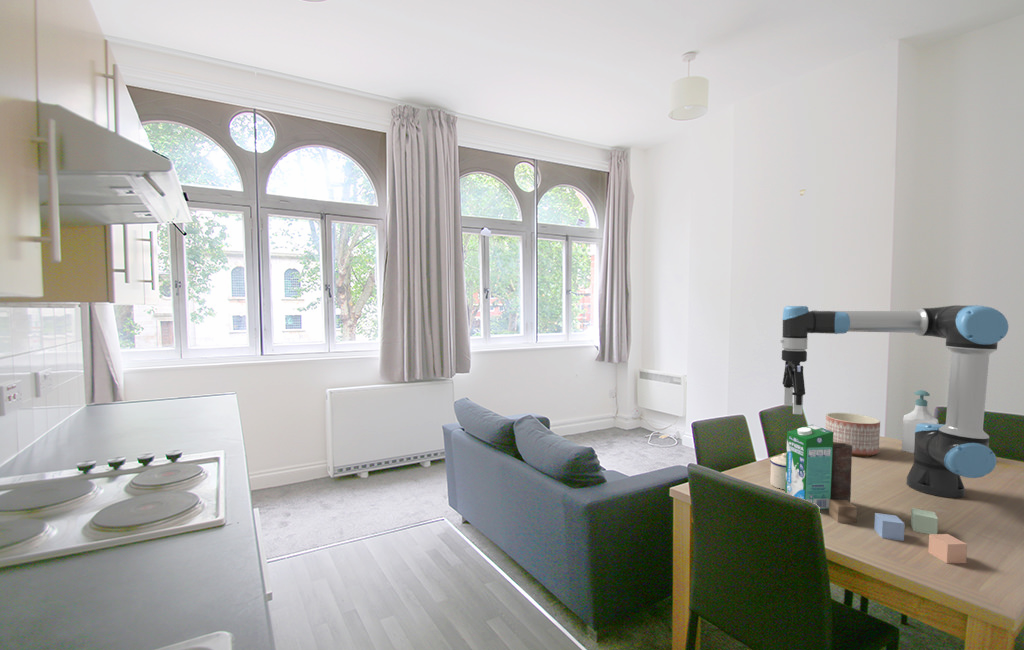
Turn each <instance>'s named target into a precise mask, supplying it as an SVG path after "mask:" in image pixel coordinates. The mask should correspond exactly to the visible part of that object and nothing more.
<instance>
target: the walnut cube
mask: <svg viewBox="0 0 1024 650" xmlns="http://www.w3.org/2000/svg"><path fill="white" fill-rule="evenodd" d="M857 512H858V507H857V506H855V505H854V504H853V503H852V502H851V501H850V502H849V501H848V500H834V499H830V500H829V509H828V515H829V517H831V518H832V519H833V520H834V521H835V522H837V523H838V524H839V523H843V524H856V525H857Z"/></svg>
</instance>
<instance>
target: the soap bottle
mask: <svg viewBox="0 0 1024 650" xmlns="http://www.w3.org/2000/svg"><path fill="white" fill-rule="evenodd" d="M913 395H915V396H919V398H917V399H915V405H914V409H913V410H912V411H910V412H909V413H906V414H904V415H903V418H902V430H901V431H902V432H901V451H902V452H905V451H906V453H910V454H911V453H912V454H914V445H915V429H916V425H917V424H919V423H932V424H940V423H939V419H937V418H935V416H933V415H932V413H930V411H929V408H928V401H927V399H924V397H930V393H929V392H927V390H923V389H918V390H916V391H915V392H914V394H913Z"/></svg>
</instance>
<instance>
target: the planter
mask: <svg viewBox="0 0 1024 650" xmlns="http://www.w3.org/2000/svg"><path fill="white" fill-rule="evenodd" d="M825 429H826V430H829V431H832V432H833V442H838V443H846V444H851V445H852V457H853V456H854V457H871V456H873V455H877V454H879V453H880V434H881V420H880V419H878V418H875V417H873V416H868V415H864V414H863V415H862V414H858V413H851V412H850V413H849V412H828V413H826V415H825Z"/></svg>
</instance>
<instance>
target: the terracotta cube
mask: <svg viewBox="0 0 1024 650" xmlns="http://www.w3.org/2000/svg"><path fill="white" fill-rule="evenodd" d="M928 535H929V536H928V554H930V555H932V556H934V557H935V558H938V559H939V560H940V561H942V562H944V563H946V564H967V553H968V544H967V542H964V541H962V540H960V539H959V538H956V537H954V536H952V535H951V534H948V533H937V534H928Z"/></svg>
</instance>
